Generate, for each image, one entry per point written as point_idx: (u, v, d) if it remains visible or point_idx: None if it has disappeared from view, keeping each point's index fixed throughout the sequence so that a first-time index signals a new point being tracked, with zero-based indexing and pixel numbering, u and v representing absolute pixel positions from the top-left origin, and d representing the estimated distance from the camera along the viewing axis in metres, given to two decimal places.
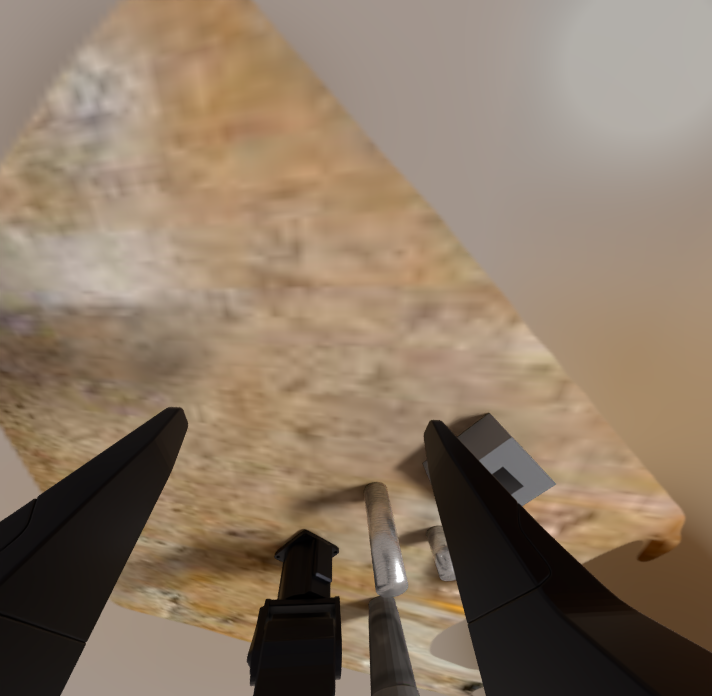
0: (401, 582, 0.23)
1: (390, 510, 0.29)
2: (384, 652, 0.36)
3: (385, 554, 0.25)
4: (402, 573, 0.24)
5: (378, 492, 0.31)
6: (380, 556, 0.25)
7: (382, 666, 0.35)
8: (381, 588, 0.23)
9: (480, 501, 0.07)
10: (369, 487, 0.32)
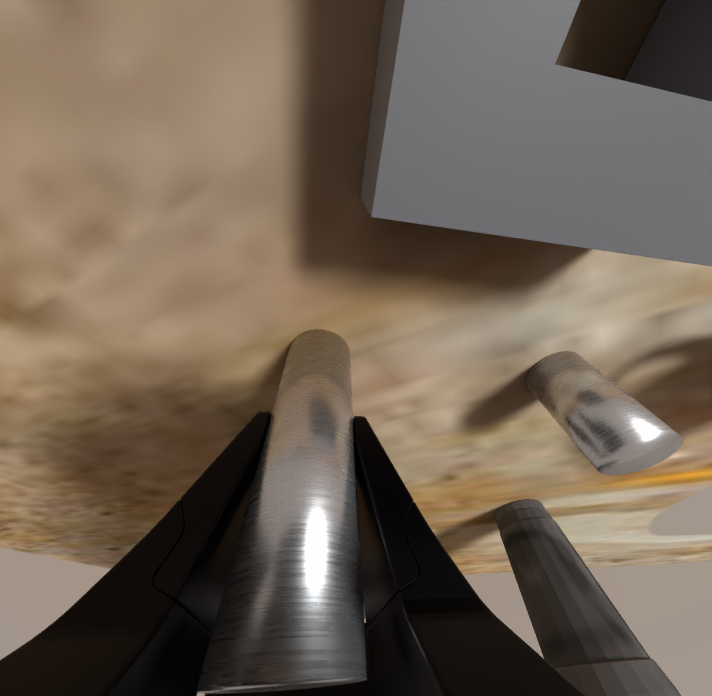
0: (288, 681, 0.04)
1: (321, 379, 0.09)
2: (543, 598, 0.19)
3: (241, 542, 0.06)
4: (280, 635, 0.04)
5: (295, 353, 0.11)
6: (234, 550, 0.06)
7: (549, 621, 0.18)
8: (246, 691, 0.05)
9: (373, 500, 0.07)
10: None
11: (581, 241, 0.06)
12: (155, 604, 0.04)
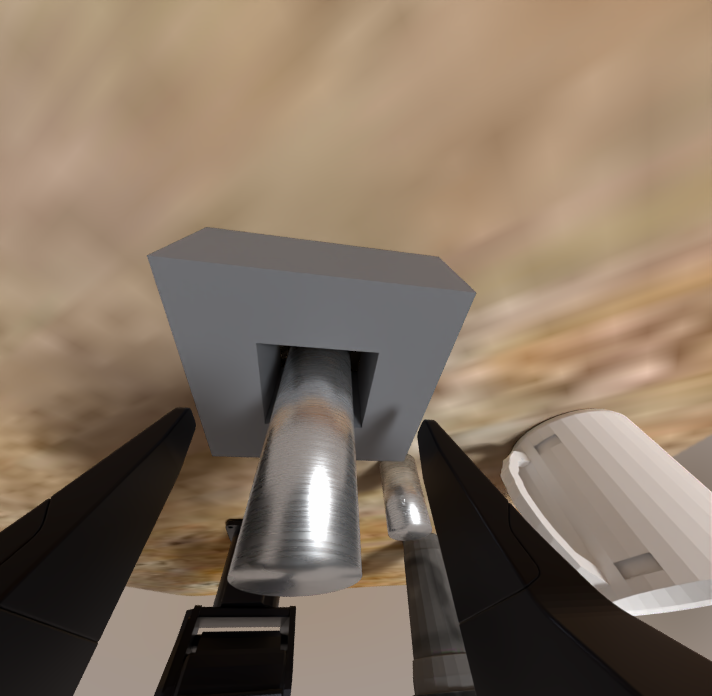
0: (300, 563, 0.05)
1: (324, 354, 0.10)
2: (416, 610, 0.26)
3: (258, 476, 0.07)
4: (293, 530, 0.05)
5: None
6: None
7: (416, 627, 0.25)
8: (264, 588, 0.06)
9: (471, 501, 0.07)
10: None
11: None
12: None
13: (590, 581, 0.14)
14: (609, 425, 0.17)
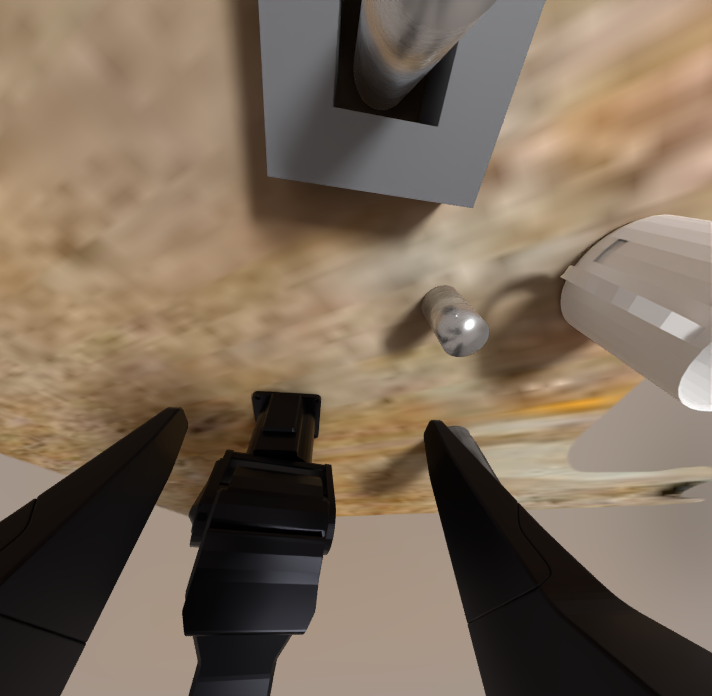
0: None
1: None
2: None
3: None
4: None
5: None
6: None
7: None
8: None
9: (480, 501, 0.07)
10: None
11: (378, 190, 0.12)
12: None
13: (680, 332, 0.13)
14: (681, 218, 0.16)
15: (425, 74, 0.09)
